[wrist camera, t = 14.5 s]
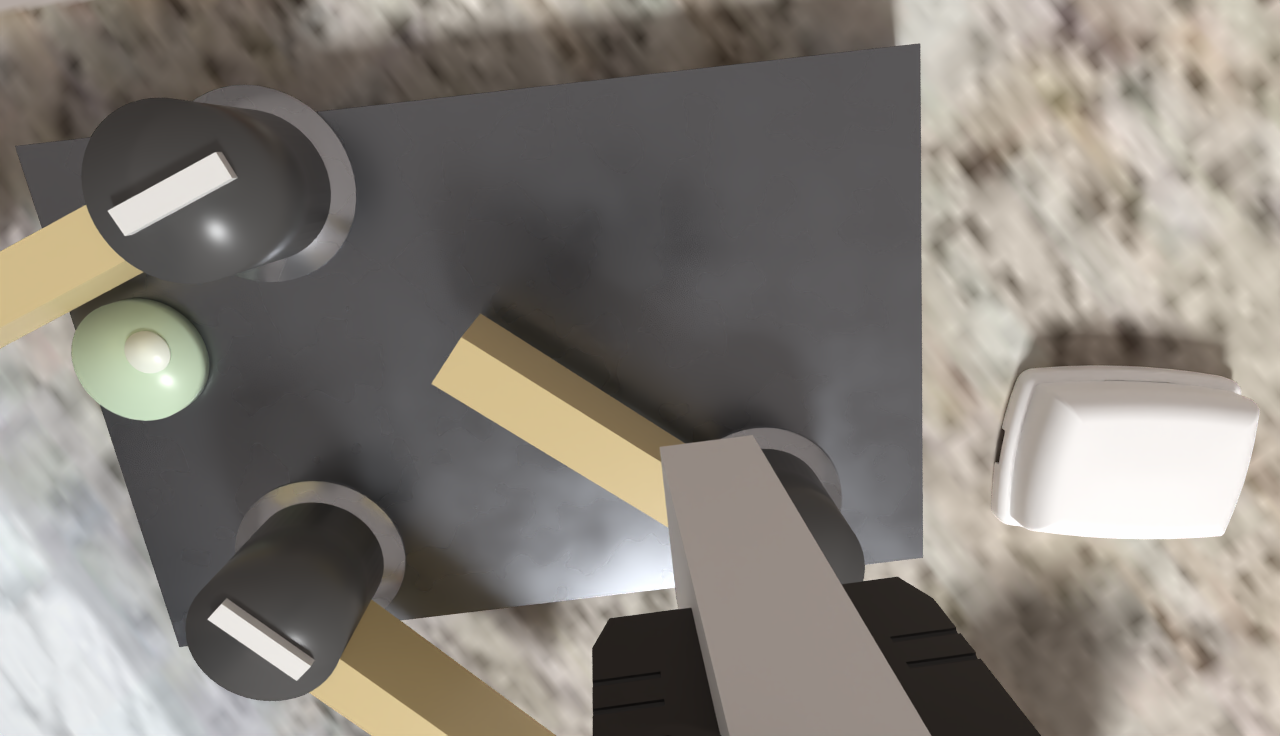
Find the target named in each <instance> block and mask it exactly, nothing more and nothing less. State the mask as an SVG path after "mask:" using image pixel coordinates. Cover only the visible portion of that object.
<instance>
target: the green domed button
mask: <svg viewBox="0 0 1280 736" xmlns="http://www.w3.org/2000/svg"><path fill="white" fill-rule="evenodd" d="M71 355H72V362H73V366H74V370H75V372H76V375H77V377H78V379H79V381H80V383H81V384H82V386H83V387H84V389H85V390H86V391H87V393H88V394H89V395H90V396H91V397H92V398H93V399H94V400H95V401H96V402H98V403H99V404H100V405H102V406H103V407H104V408H106V409H108V410H109V411H111V412H113V413H115V414H117V415H120V416H122V417H126V418H129V419H134V420H144V421H148V420H158V419H163V418H166V417H169V416H171V415H173V414H175V413H177V412H179V411H180V410H182V409H184V408H185V407H187V406H188V405H190V404H191V403H192V402H194V401H195V400H196V399H197V398H198V396H199V395H200V394H201V392H202V391H203V389H204V387H205V385H206V382H207V379H208V375H209V357H208V352H207V349H206V346H205V343H204V341H203V339H202V337H201V335H200V334H199V332H198V331H197V329H196V328H195V327H194V326H193V324H192V323H191V322H190V321H189V320H188V319H187V318H186V317H185V316H183V315H182V314H181V313H179V312H178V311H176V310H175V309H173V308H171V307H170V306H167V305H165V304H163V303H160V302H157V301H154V300H149V299H140V298H133V299H125V300H120V301H117V302H113V303H110V304H107V305H104V306H101V307H99V308H97V309H95V310H94V311H92V312H91V313H89V314H88V315H87V316H86V317H85V318H84V319H83V320H82V322H81V323H80V324H79V326H78V328H77V329H76V331H75V334H74V337H73V341H72V351H71Z"/></svg>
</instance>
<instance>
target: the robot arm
mask: <svg viewBox="0 0 1280 736" xmlns="http://www.w3.org/2000/svg"><path fill="white" fill-rule="evenodd" d="M660 456H661V465H662V474H663V483H664V492H665V501H666V510H667V519H668V528H669V537H670V546H671V555H672V564H673V573H674V582H675V591H676V599H677V604H678V609H676V610H669V611H662V612H654V613H647V614H639V615H632V616H624V617H617V618H610V619H609V620H608V622H607V624H606V625H605V627H604V629H603V631H602V632H601V634H600V636H599V638H598V639H597V641H596V643H595V644H594V646H593V648H592V663H593V736H1041V735H1040V734H1039V733H1038V731H1037V730H1036V729H1035V728H1034V726H1033V725H1032V724H1031V722H1030V721H1029V720H1028V719H1027V717H1026V716H1025V715H1024V713H1023V712H1022V711H1021V710H1020V708H1019V707H1018V706H1017V705H1016V703H1015V702H1014V701H1013V699H1012V698H1011V697H1010V696H1009V694H1008V693H1007V692H1006V691H1005V689H1004V688H1003V687H1002V685H1001V684H1000V683H999V682H998V680H997V679H996V678H995V677H994V675H993V674H992V673H991V671H990V670H989V669H988V668H987V666H986V665H985V664H984V663H983V661H982V660H981V659H977V657H976V652H975V651H974V650H973V649H972V647H971V646H970V645H969V643H968V642H967V641H966V640H965V638H964V637H963V636H962V635H961V633H960V634H958V633H957V631H956V627H955V626H954V624H953V623H952V622H951V621H950V619H949V618H948V617H947V615H946V614H945V613H944V612H943V610H942V609H941V608H940V607H939V605H938V604H937V603H936V601H935V600H934V599H933V598H931V597H930V596H928V595H927V594H925V593H923V592H922V591H920V590H918V589H917V588H915V587H913V586H912V585H910V584H909V583H907V582H905V581H904V580H902V579H900V578H899V577H892V578H885V579H877V580H870V581H862V582H855V583H847V584H841V583H840V581H839V580H838V578H837V576H836V574H835V573H834V571H833V569H832V568H831V566H830V564H829V563H828V561H827V559H826V558H825V556H824V554H823V553H822V551H821V549H820V548H819V546H818V544H817V543H816V541H815V539H814V537H813V536H812V534H811V532H810V531H809V529H808V527H807V526H806V524H805V522H804V521H803V519H802V517H801V516H800V514H799V512H798V511H797V509H796V507H795V505H794V504H793V502H792V500H791V499H790V497H789V495H788V494H787V492H786V490H785V489H784V487H783V485H782V484H781V482H780V480H779V479H778V477H777V475H776V474H775V472H774V470H773V468H772V467H771V465H770V463H769V462H768V460H767V458H766V457H765V455H764V453H763V452H762V450H761V448H760V447H759V445H758V443H757V442H756V440H755V438H754V437H753V435H749V436H742V437H734V438H726V439H718V440H710V441H702V442H694V443H686V444H679V445H671V446H663V447H660Z"/></svg>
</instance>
